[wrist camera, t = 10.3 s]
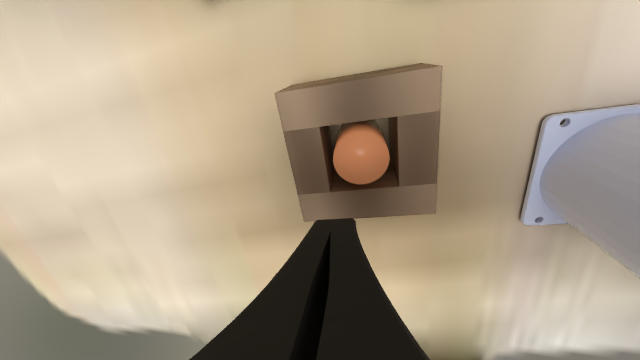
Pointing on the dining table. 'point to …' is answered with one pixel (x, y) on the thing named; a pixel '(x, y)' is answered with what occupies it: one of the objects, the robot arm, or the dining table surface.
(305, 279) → the robot arm
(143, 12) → the dining table surface
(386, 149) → the gauge button
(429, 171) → the square wooden frame
